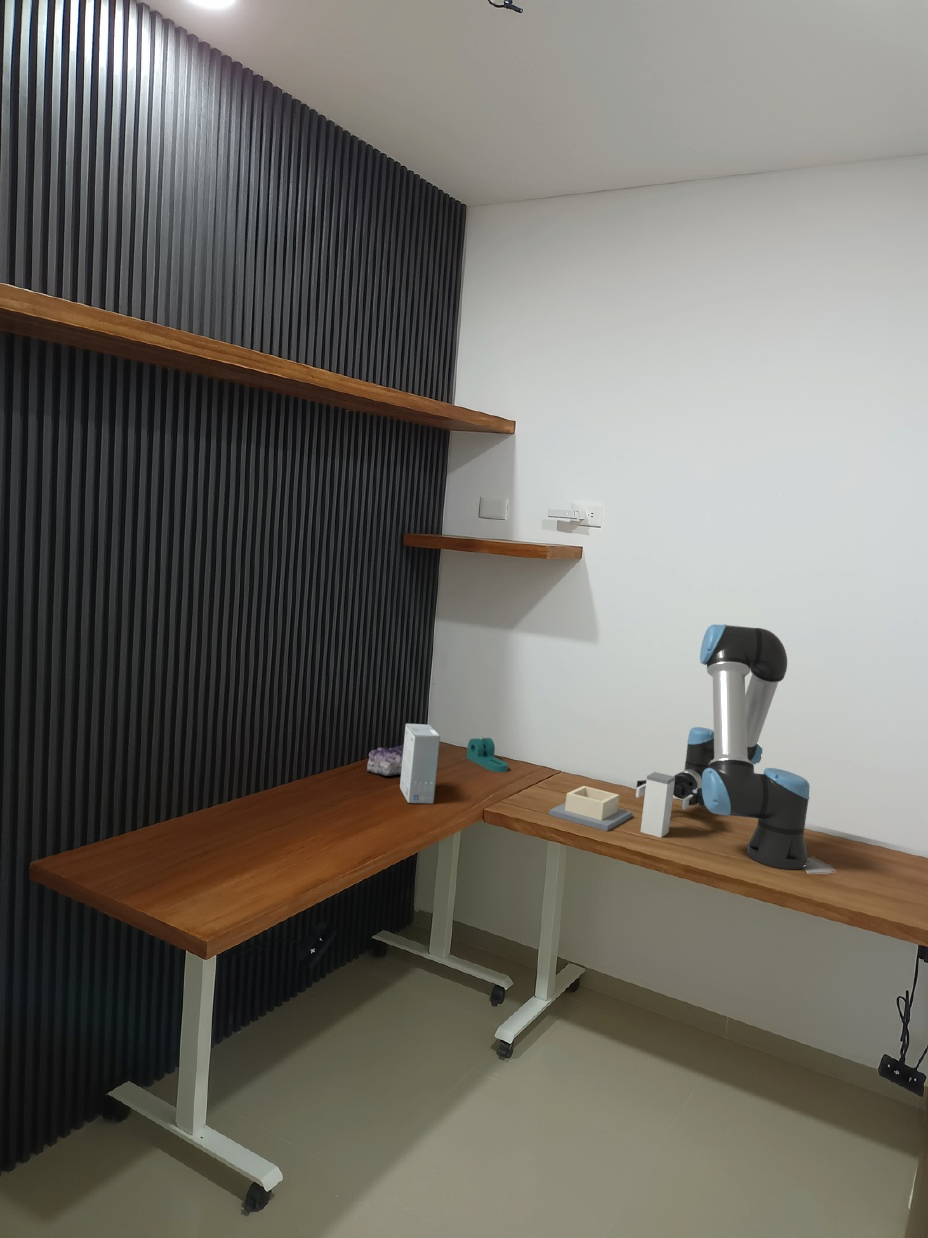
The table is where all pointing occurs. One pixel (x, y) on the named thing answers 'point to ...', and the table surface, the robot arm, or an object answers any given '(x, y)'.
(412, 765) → the hard drive box
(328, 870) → the table surface
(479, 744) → the bracket
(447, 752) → the table surface
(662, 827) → the white grey-topped block
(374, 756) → the geode
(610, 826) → the holder
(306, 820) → the table surface
